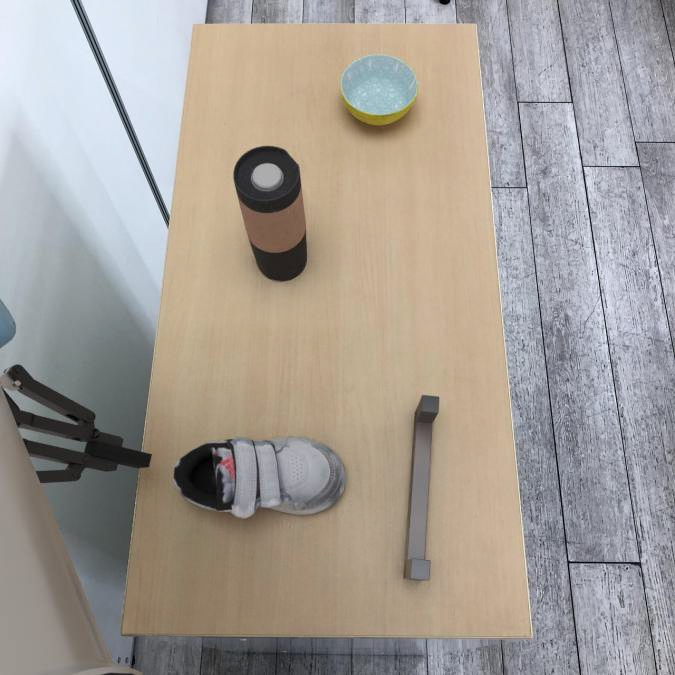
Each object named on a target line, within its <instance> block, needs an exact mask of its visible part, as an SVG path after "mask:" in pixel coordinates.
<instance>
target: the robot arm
mask: <svg viewBox="0 0 675 675" xmlns="http://www.w3.org/2000/svg"><path fill="white" fill-rule="evenodd" d="M16 334H17V323H16V322H15V318H14V317H13V315H12V313H11V312H10V310H9V309H8V307H7V306H6V304H5V303H4V302H3V300H2V298H0V349H2V348H3V347H5V346H6V345H7V344H8V343H10V342H11V341H12V340H13V339H14V338H15V336H16ZM5 389H6V390H8V391H9V392H16V391H17V392H18V393H20V394H22V395H23V396H25V397H27V398H29V399H31V400H33V401H34V402H36V403H38V404H40V405H42V406H44V407H46V408H47V409H49V410H52V411H53V412H55V413H57V414H59V415H61V416H62V417H65V418H66V419H68V420H70V421H72V422H74V423H71V422H67V421H62V420H58V419H54V418H50V417H46V416H42V415H38V414H35V413H33V412H30V411H25V410H21V408H20V407H19V405H18V404H17V403H16V402H15V400H13V398H12V397H11V395H9V393H8V392H7V391H6V390H5ZM96 418H97V416H96V413H95V412H94V411H93V410H91V409H89V408H88V407H86V406H84V405H83V404H80V403H79V402H76V401H74V400H73V399H71V398H69V397H68V396H65V395H64V394H62V393H60V392H58V391H56V390H55V389H52V388H51V387H49V386H47V385H46V384H43V383H42V382H40V381H38V380H37V379H35V378H34V377H33V376H32V375H31V374H30V372H28V371H27V370H26V368H25V367H24V366H23V365H22V364H20V363H19V364H13V365H11V366H9V367H7V368H5V369H4V371H3V373H2V374H1V375H0V675H144V674H143V673H142V672H141V671H139V670H138V669H135V668H133V667H128V666H122V665H118V664H117V665H116V664H115V663H114V660H113V658H112V657H111V654H110V651H109V648H108V646H107V644H106V641H105V639H104V637H103V634H102V632H101V629H100V626H99V624H98V622H97V619H96V617H95V615H94V612H93V610H92V606H91V604H90V601H89V598H88V597H87V594H86V591H85V590H84V588H83V584H82V582H81V580H80V576H79V575H78V572H77V569H76V568H75V565H74V563H73V560H72V557H71V555H70V552H69V550H68V548H67V545H66V543H65V540H64V538H63V535H62V533H61V530H60V528H59V524H58V522H57V520H56V519H55V515H54V513H53V511H52V508H51V505H50V503H49V501H48V498H47V495H46V494H45V491H44V488H43V485H42V484H51V483H52V484H53V483H69V482H70V483H71V482H77V481H79V480H80V479H81V477H82V473H83V472H84V470H85V469H91V470H96V471H100V472H105V473H108V472H109V473H110V472H115V471H117V470H118V466H119V465H120V466H124V467H125V466H126V467H128V468H129V467H130V468H134V469H147V468H150V465H151V461H152V456H153V453H149V452H146V451H145V452H144V451H141V450H136V449H132V448H128V447H124V446H123V443H124V441H125V440H124V438H123V437H121V436H120V435H115V434H112V433H108V432H104V431H101V430H100V429H99V428H97V427H96V425H95V421H96ZM75 423H76V424H75ZM20 429H24V430H28V431H33V432H36V433H40V434H46V435H49V436H54V437H59V438H62V439H67V440H71V441H76V442H79V443H85V447H84V451H78V450H75V449H70V448H65V447H60V446H56V445H52V444H48V443H43V442H38V441H34V440H30V439H27V438H24V437H23V436H22V433H21V431H20ZM31 458H35V459H39V460H44V461H49V462H54V463H58V464H63V465H67V466H66V467H65V469H51V470H50V469H49V470H36V468H35V466H34V464H33V462H32V459H31Z"/></svg>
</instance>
